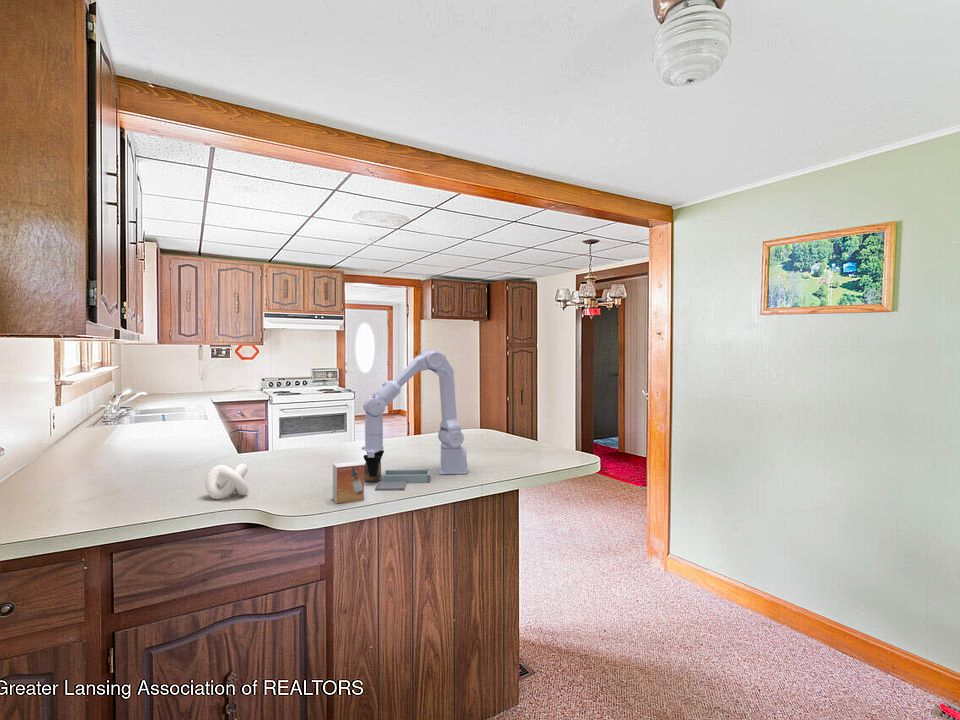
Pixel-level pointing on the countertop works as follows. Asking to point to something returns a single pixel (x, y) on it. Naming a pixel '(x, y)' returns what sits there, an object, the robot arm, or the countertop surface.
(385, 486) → the coaster
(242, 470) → the white knot sculpture
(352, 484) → the small box
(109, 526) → the countertop surface
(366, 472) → the block
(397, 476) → the u-shaped bracket
